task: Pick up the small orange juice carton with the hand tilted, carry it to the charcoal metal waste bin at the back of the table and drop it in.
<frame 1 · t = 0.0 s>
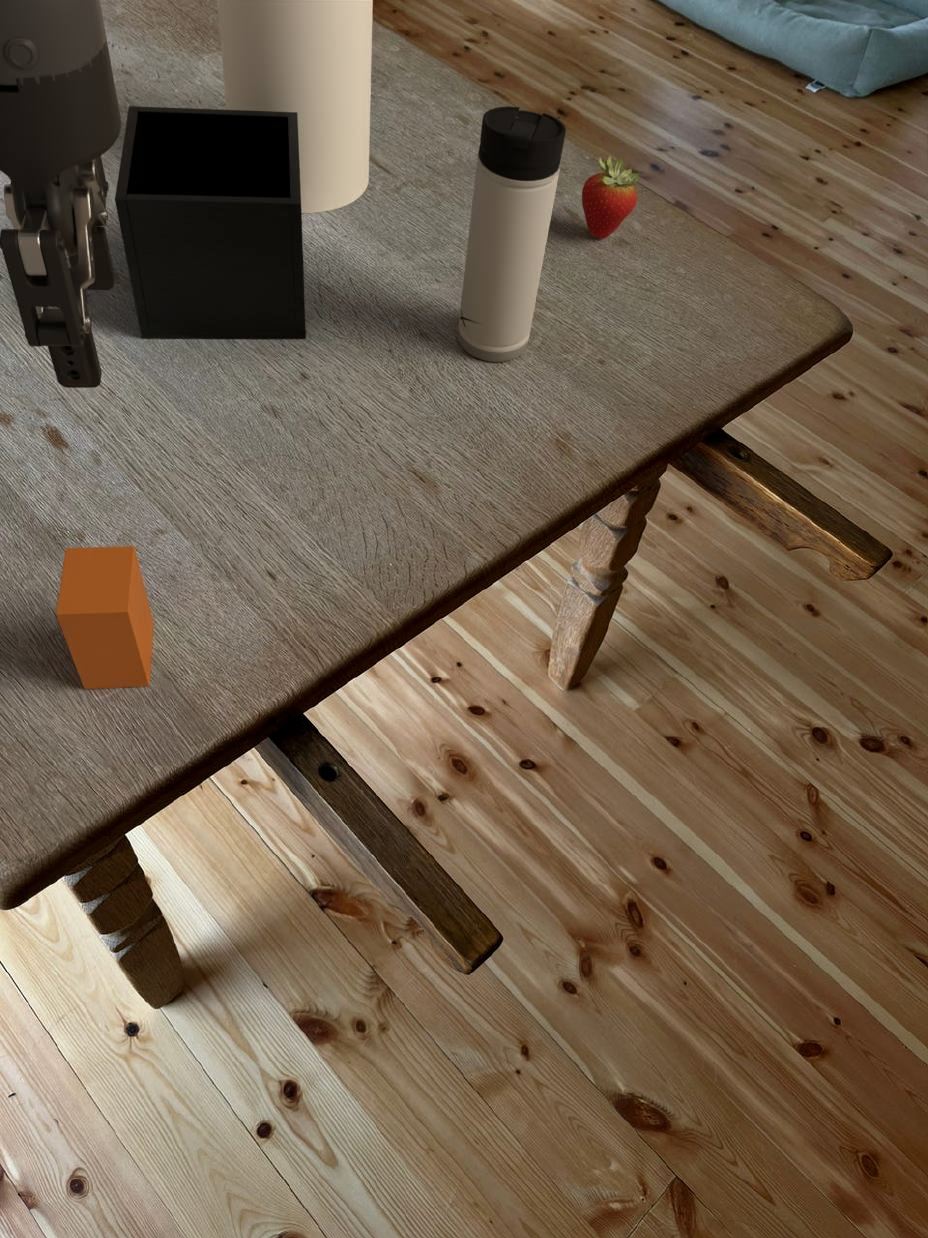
hand: (89, 333, 57), 18 cm above the table, tool pointing down, fingers open, 8 cm apart
bin: (226, 289, 89), on the table
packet: (120, 655, 66), on the table
fruit: (599, 239, 100), on the table
travel mug: (491, 343, 89), on the table
canister: (301, 176, 101), on the table
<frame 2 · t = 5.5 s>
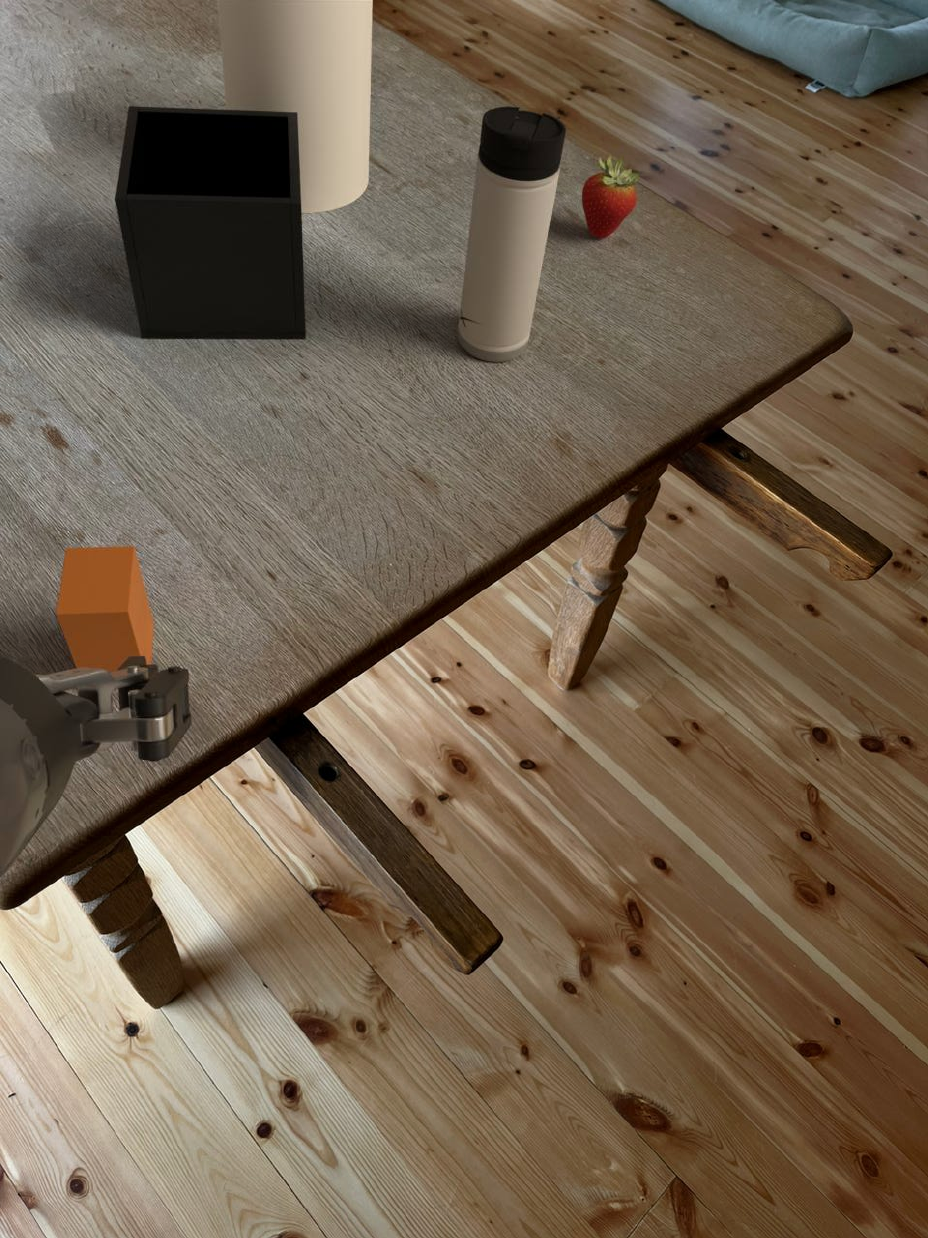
hand: (46, 681, 47), 14 cm above the table, tool tilted 45°, fingers open, 8 cm apart
nothing on the table moved.
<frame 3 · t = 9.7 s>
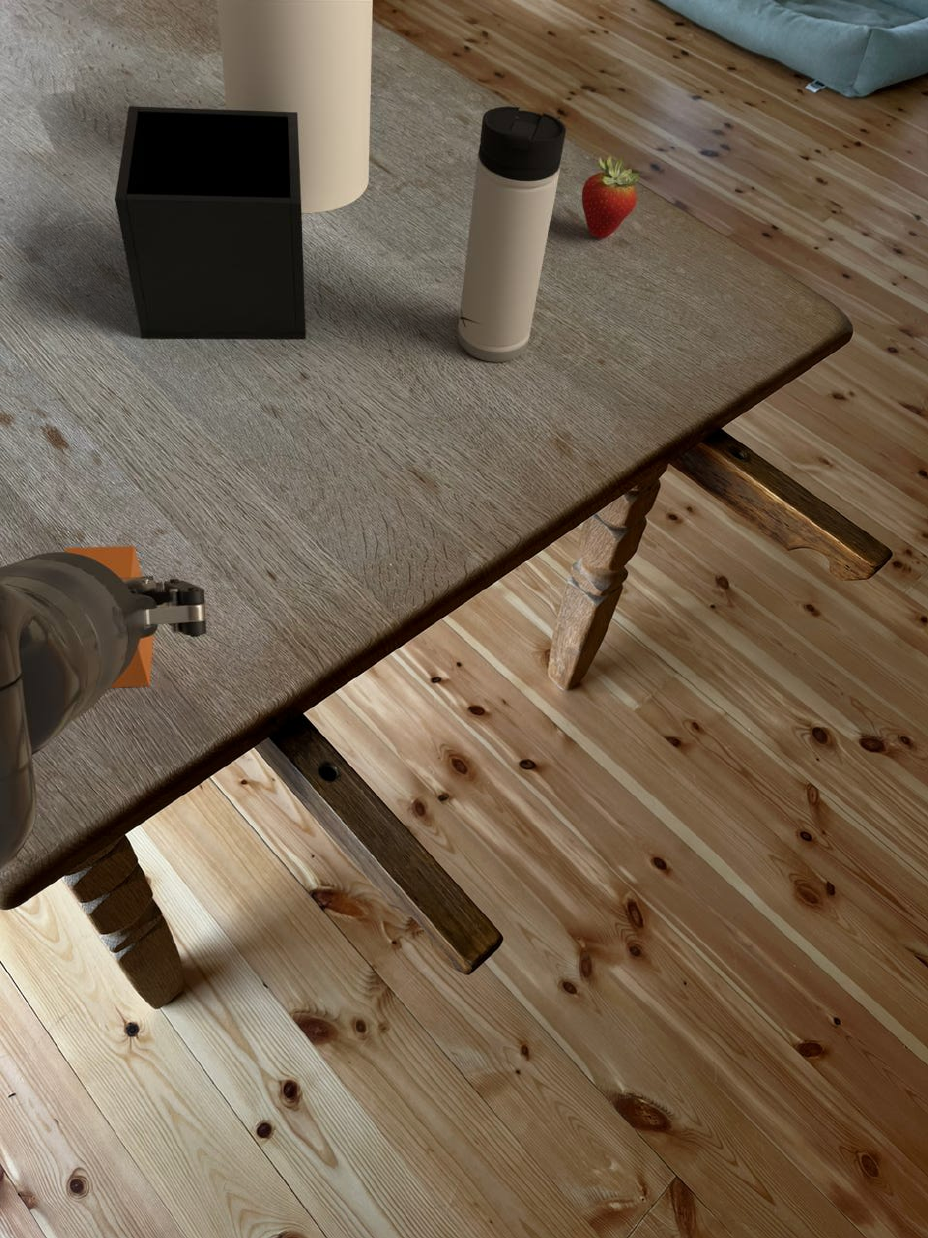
hand: (111, 594, 64), 4 cm above the table, tool tilted 45°, fingers closed on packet, 4 cm apart
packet: (120, 655, 66), on the table, touching gripper
everything else where it was.
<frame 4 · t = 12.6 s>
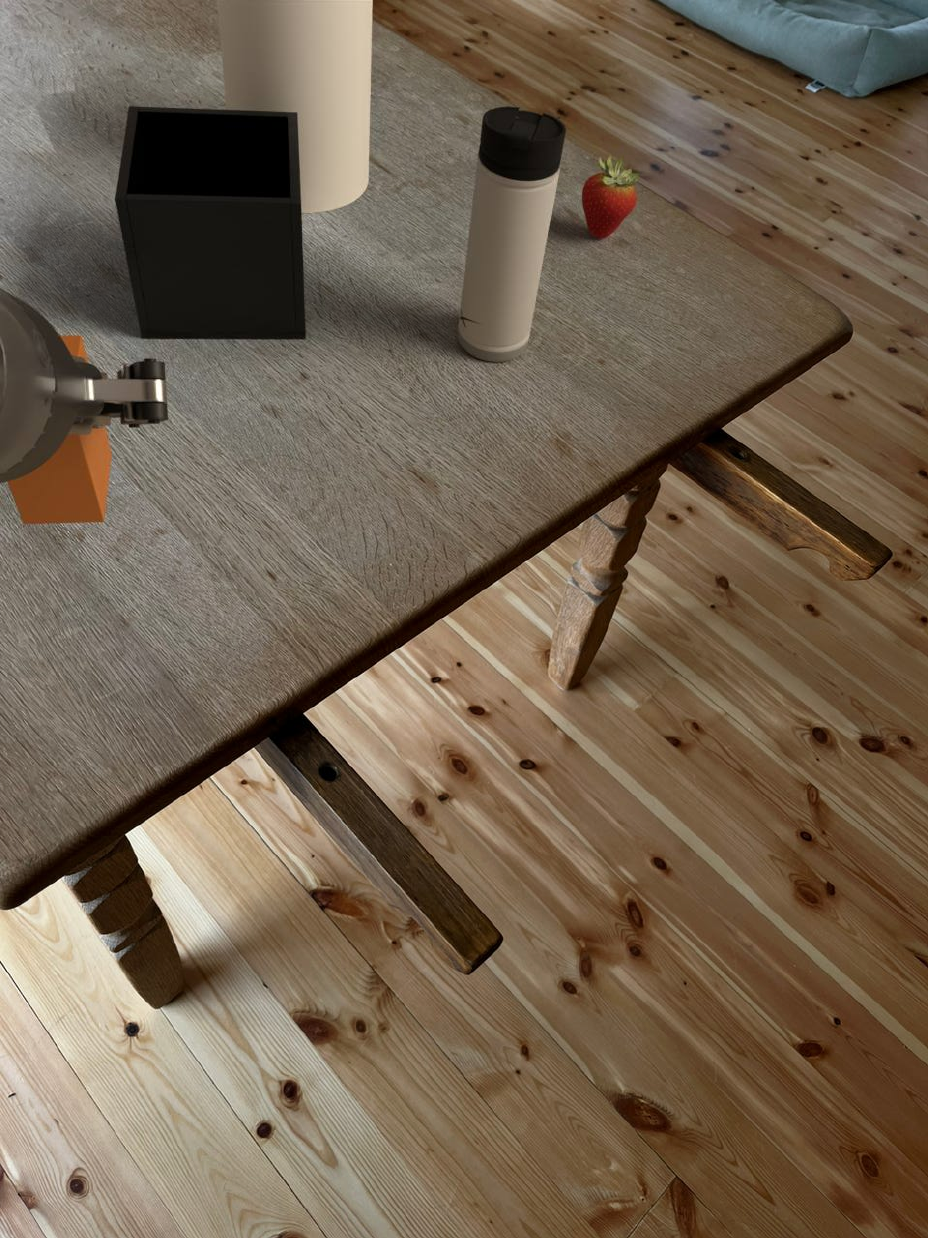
hand: (56, 404, 51), 20 cm above the table, tool tilted 45°, fingers closed on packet, 4 cm apart
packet: (69, 488, 53), point 15 cm above the table, touching gripper
everything else where it was.
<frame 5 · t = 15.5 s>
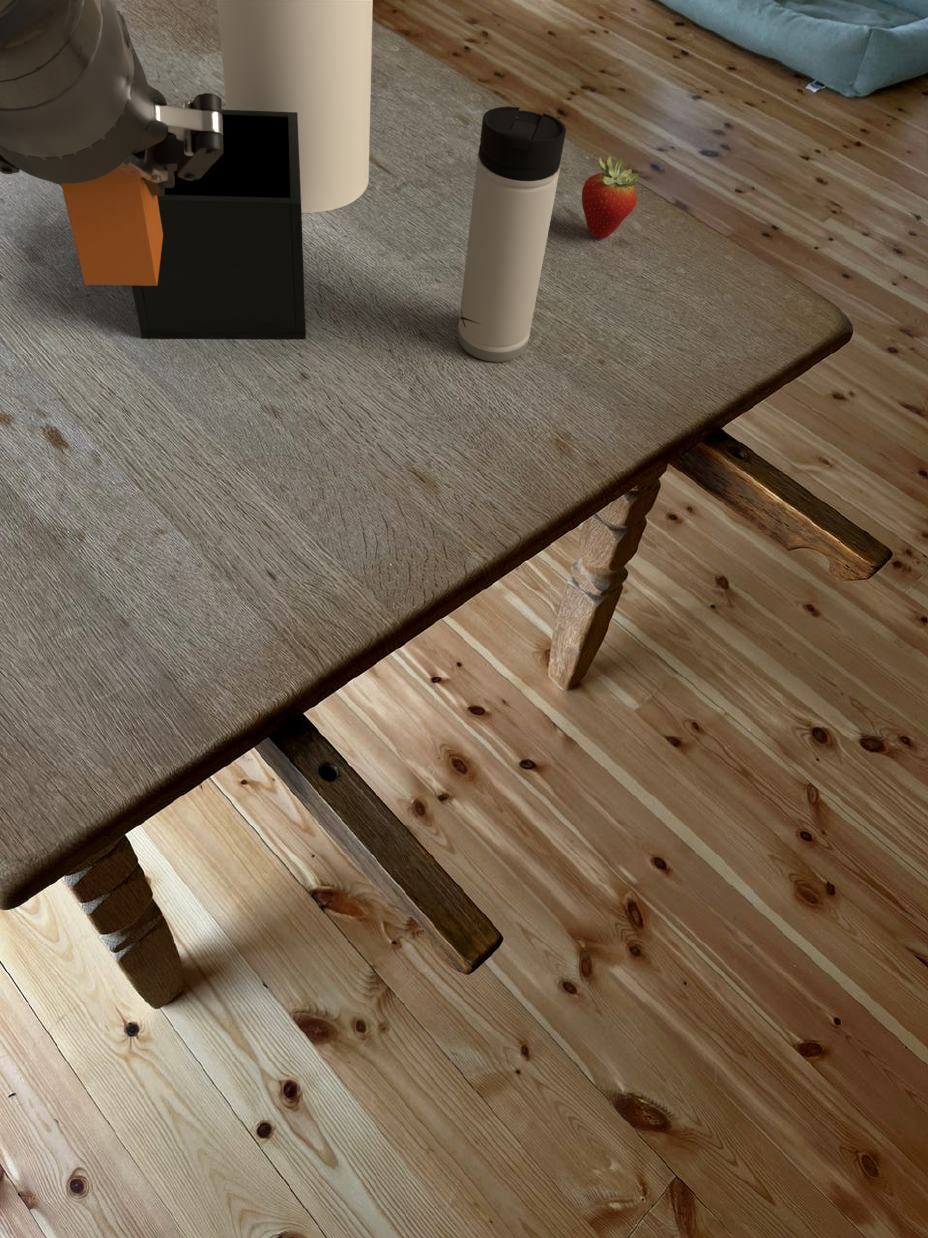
hand: (116, 175, 57), 24 cm above the table, tool tilted 45°, fingers closed on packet, 4 cm apart
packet: (125, 259, 59), point 20 cm above the table, touching gripper
everything else where it was.
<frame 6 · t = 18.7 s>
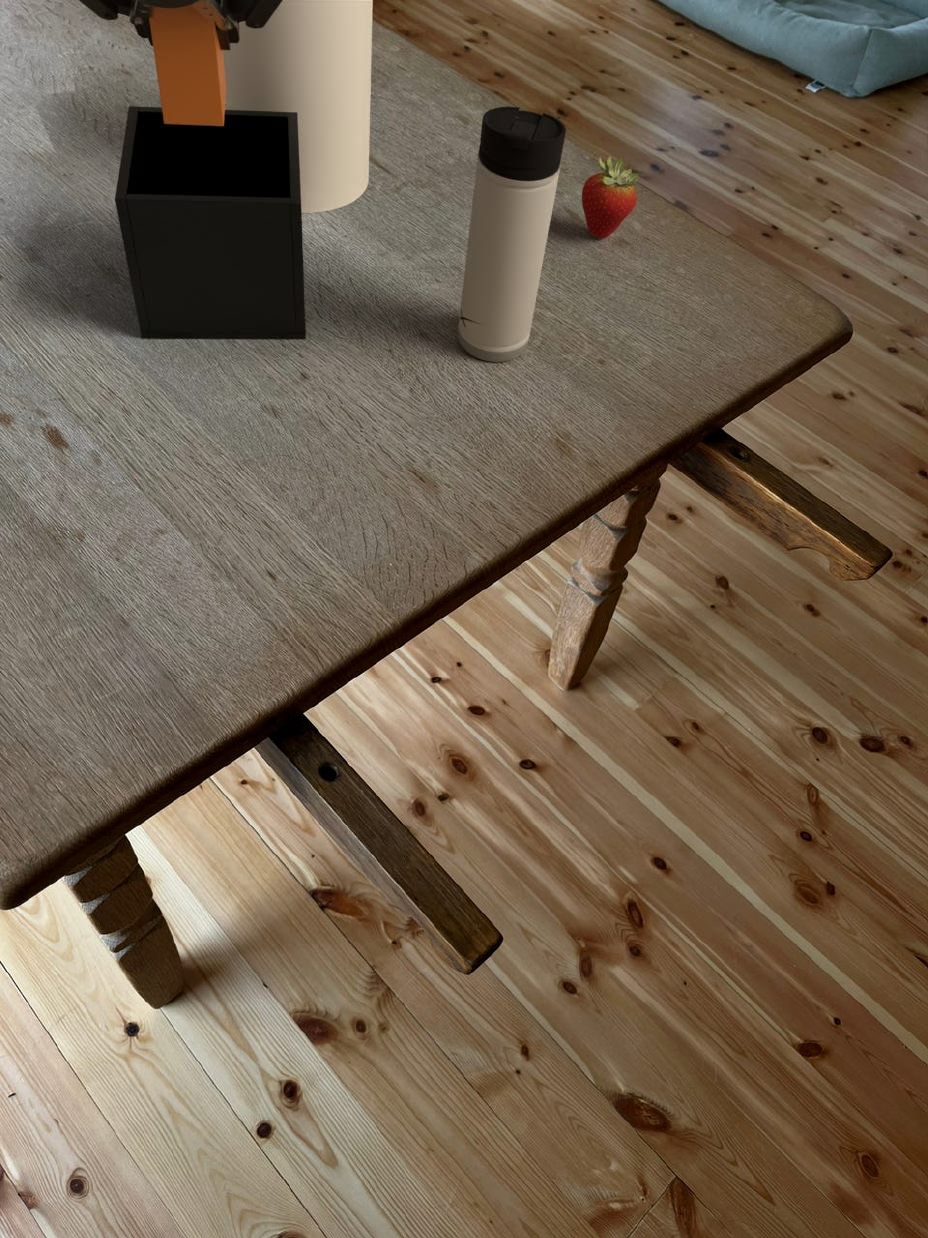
hand: (191, 32, 69), 23 cm above the table, tool tilted 45°, fingers closed on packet, 4 cm apart
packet: (196, 106, 71), point 19 cm above the table, touching gripper
everything else where it was.
when the fingers open (19 cm above the table, at t = 21.3 s): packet drops 14 cm, resting on bin.
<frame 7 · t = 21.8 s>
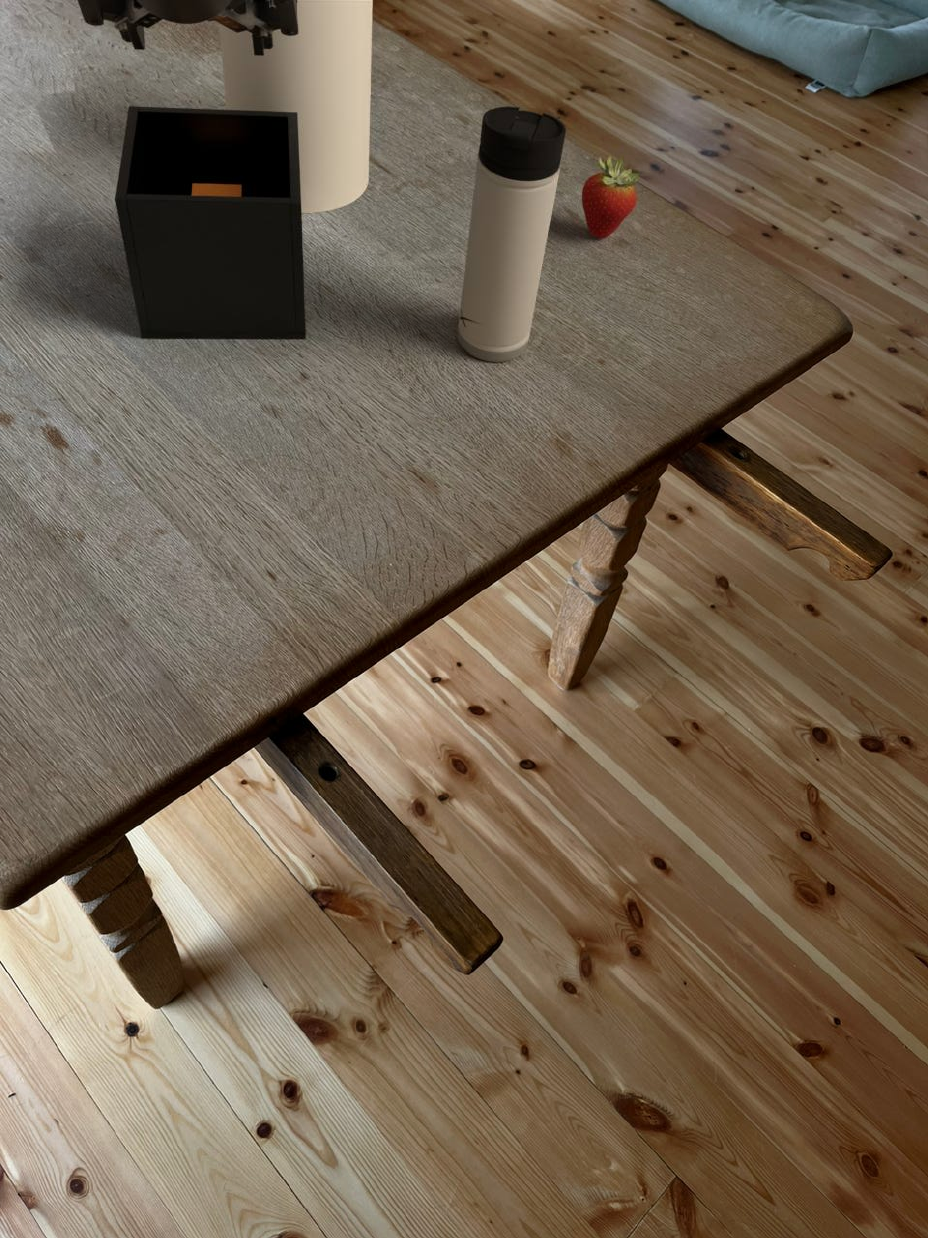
hand: (199, 38, 74), 20 cm above the table, tool tilted 45°, fingers open, 8 cm apart
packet: (225, 284, 89), point 1 cm above the table, touching bin
everything else where it was.
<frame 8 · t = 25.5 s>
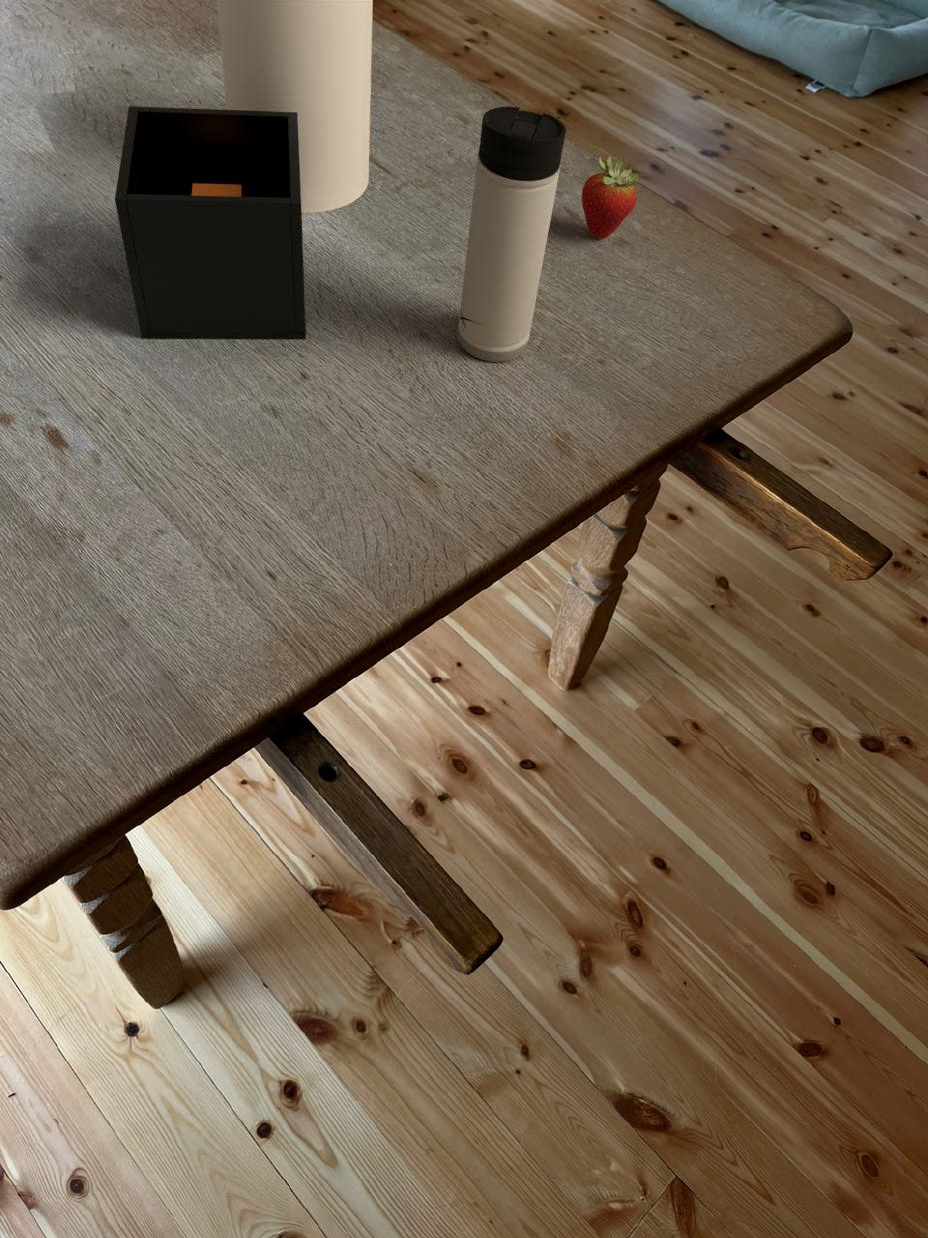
nothing on the table moved.
at the end: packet inside the target area in the bin (0.1 cm from its centre), point 0.6 cm above the bin's base; the gripper is holding nothing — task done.
